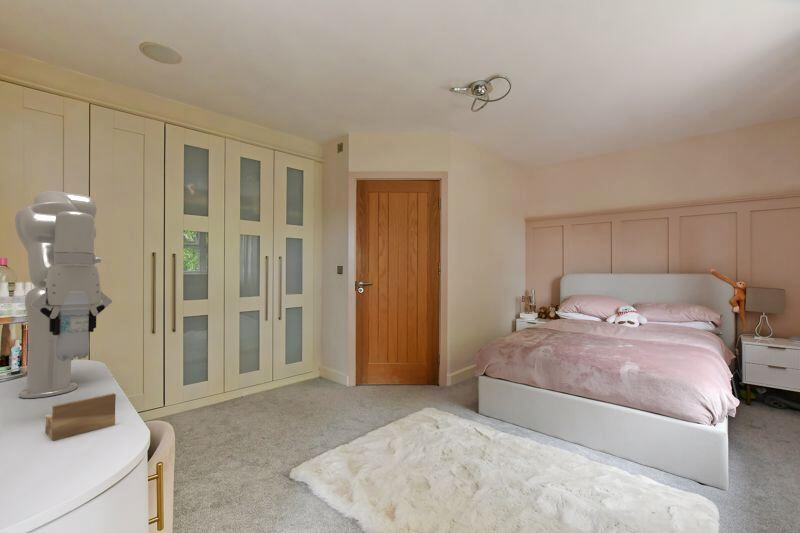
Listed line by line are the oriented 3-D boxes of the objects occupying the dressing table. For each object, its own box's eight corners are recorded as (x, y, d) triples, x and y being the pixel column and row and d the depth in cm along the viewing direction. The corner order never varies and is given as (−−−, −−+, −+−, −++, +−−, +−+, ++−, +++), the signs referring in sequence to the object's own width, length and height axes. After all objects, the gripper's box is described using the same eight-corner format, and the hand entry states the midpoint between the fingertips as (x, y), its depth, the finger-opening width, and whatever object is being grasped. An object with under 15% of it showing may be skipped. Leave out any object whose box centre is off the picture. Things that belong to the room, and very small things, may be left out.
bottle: (69, 362, 88) (70, 277, 89) (46, 361, 89) (48, 279, 90) (97, 356, 94) (98, 278, 95) (76, 356, 96) (77, 279, 97)
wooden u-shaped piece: (45, 431, 81) (46, 399, 82) (104, 417, 90) (105, 388, 90) (52, 440, 77) (53, 406, 77) (114, 424, 85) (115, 394, 85)
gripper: (111, 263, 102) (111, 328, 101) (23, 261, 88) (21, 336, 87) (120, 261, 98) (120, 330, 97) (29, 258, 84) (27, 338, 83)
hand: (73, 332), depth 92 cm, fingers closed on bottle, 5 cm apart
